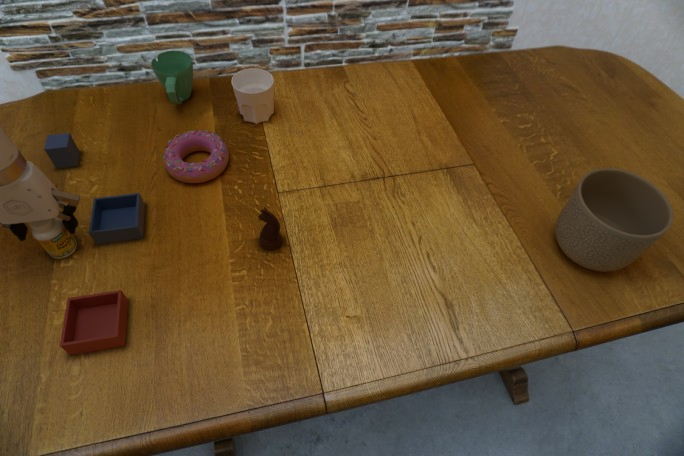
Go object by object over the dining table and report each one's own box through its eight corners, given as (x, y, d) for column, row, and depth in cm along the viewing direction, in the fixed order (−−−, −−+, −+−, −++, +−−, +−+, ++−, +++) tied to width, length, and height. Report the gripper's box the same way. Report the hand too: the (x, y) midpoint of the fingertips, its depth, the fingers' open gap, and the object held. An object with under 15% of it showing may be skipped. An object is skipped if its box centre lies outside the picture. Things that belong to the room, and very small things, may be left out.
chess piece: (268, 229, 96) (264, 198, 88) (288, 240, 95) (285, 209, 87) (254, 244, 94) (249, 213, 86) (274, 255, 93) (270, 225, 85)
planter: (551, 275, 93) (587, 230, 80) (541, 211, 103) (571, 162, 90) (637, 287, 92) (686, 243, 80) (618, 221, 102) (659, 173, 90)
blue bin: (96, 244, 92) (88, 233, 89) (100, 210, 97) (93, 198, 94) (143, 238, 94) (137, 226, 90) (145, 204, 99) (139, 192, 96)
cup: (247, 97, 122) (242, 64, 114) (282, 106, 121) (280, 73, 113) (230, 120, 116) (224, 87, 108) (267, 130, 115) (263, 97, 107)
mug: (163, 84, 124) (152, 51, 116) (200, 82, 125) (192, 49, 117) (159, 120, 115) (147, 87, 107) (199, 118, 116) (190, 84, 108)
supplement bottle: (60, 234, 93) (36, 204, 86) (83, 241, 93) (62, 211, 85) (42, 255, 90) (17, 226, 82) (67, 262, 90) (43, 233, 82)
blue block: (56, 168, 104) (43, 149, 99) (59, 154, 107) (47, 135, 102) (78, 166, 105) (66, 146, 100) (80, 152, 107) (69, 132, 103)
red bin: (70, 355, 79) (59, 346, 75) (76, 308, 84) (67, 298, 81) (125, 345, 80) (117, 336, 77) (128, 300, 85) (121, 289, 82)
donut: (238, 175, 105) (235, 159, 101) (176, 195, 101) (170, 179, 97) (218, 136, 113) (215, 120, 109) (160, 153, 108) (154, 137, 104)
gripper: (-70, 190, 70) (-6, 254, 84) (53, 176, 72) (96, 240, 86) (-56, 156, 74) (3, 222, 88) (60, 144, 77) (100, 210, 91)
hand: (49, 231), depth 87 cm, fingers open, 8 cm apart
